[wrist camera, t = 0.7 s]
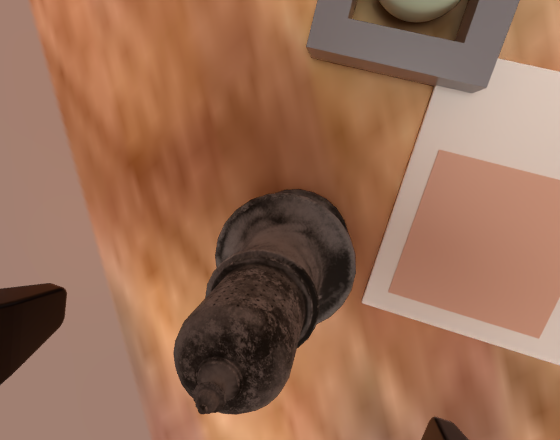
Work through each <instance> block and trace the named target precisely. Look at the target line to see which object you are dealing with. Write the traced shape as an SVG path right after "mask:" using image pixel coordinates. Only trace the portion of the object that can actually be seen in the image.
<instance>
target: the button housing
mask: <svg viewBox="0 0 560 440" xmlns="http://www.w3.org/2000/svg"><path fill="white" fill-rule="evenodd" d="M519 1H520V0H469V2H468V4H467V7H466V10H465V13H464V16H463V19H462V22H461V25H460V28H459V31H458V34H457V37H456V39H455V41H451V40H447V39H442V38H437V37H433V36H428V35H423V34H419V33H414V32H410V31H405V30H400V29H396V28H391V27H386V26H382V25H377V24H372V23H368V22H363V21H358V20H354V19H352V17H353V13H354V9H355V6H356V2H357V0H318V1H317V5H316V9H315V13H314V17H313V21H312V25H311V29H310V34H309V38H308V42H307V46H306V47H307V49H308V51H309V53H310V55H311V58H315V59H319V60H324V61H328V62H332V63H337V64H341V65H345V66H350V67H354V68H358V69H362V70H367V71H371V72H375V73H380V74H384V75H388V76H393V77H397V78H401V79H406V80H410V81H414V82H419V83H423V84H427V85H431V86H435V85H437V86H442V87H446V88H450V89H455V90H459V91H463V92H468V93H475V92H477V91H480V90H482V89H485V88H487V86H488V83H489V80H490V78H491V75H492V72H493V70H494V67H495V64H496V62H497V59H498V56H499V54H500V51H501V48H502V46H503V43H504V40H505V38H506V35H507V32H508V30H509V27H510V25H511V22H512V19H513V17H514V14H515V11H516V9H517V6H518V3H519Z"/></svg>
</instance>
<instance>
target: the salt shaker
mask: <svg viewBox="0 0 560 440" xmlns="http://www.w3.org/2000/svg"><path fill="white" fill-rule="evenodd" d="M215 258H216V267H217V268H216V269H215V271H214V272H213V274H212V276H211V278H210V280H209V282H208V284H207V290H206V297H205V299H204V300H203V301H202V303H201V304H200V305H199V306H198V307H197V308H196V309H195V310H194V311H193V312H192V313H191V314H190V316H189V317H188V318H187V319H186V320H185V321H184V323H183V325H182V327H181V329H180V331H179V334H178V336H177V338H176V340H175V347H174V361H175V367H176V371H177V374H178V376H179V379H180V381H181V384H182V385H183V387H184V388H185V389H186V391H187V392H188V394H189V395H190V396H191V397H192V398H194V401H195V403H196V407H197V409H198V412H199V413H200V414H210V413H216V412H220V413H223V414H241V413H247V412H252V411H256V410H258V409H260V408H262V407H264V406H266V405H268V404H269V403H270V402H271V401H273V400H274V399H275V398H276V397H277V396H278V395H279V393H280V392H281V390H282V389H283V387H284V385H285V384H286V382H287V380H288V379H289V376H290V372H291V368H292V364H293V361H294V357H295V353H296V349H297V348H298V347H299V346H300V345H302V344H303V343H304V342H305V341H306V340H307V339H308V338H309V336H310V335H311V333H312V331H313V330H314V328H315V326H316V324H318V323H320V322H322V321H324V320H326V319H327V318H329V317H330V316H332V315H333V314H334V313H335V312H336V311H337V310H338V309H339V308H340V307H341V306H342V305H343V303H344V302H345V300H346V298H347V297H348V295H349V293H350V292H351V289H352V286H353V282H354V278H355V274H356V264H355V251H354V248H353V245H352V242H351V239H350V236H349V234H348V231H347V228H346V224H345V221H344V219H343V218H342V216H341V214H340V213H339V211H338V210H337V208H336V207H335V206H333V205H332V204H331V203H330V202H329V201H328V200H327V199H325V198H323V197H322V196H320V195H318V194H316V193H314V192H310V191H305V190H301V189H294V190H284V191H281V192H278V193H275V194H267V195H264V196H261V197H258V198H255V199H252V200H250V201H249V202H247V203H246V204H244V205H243V206H241V207H240V208H238V209H237V210H236V211H235V212H234V213H233V214H232V215H231V217H230V218H229V219H228V220H227V221H226V223H225V224H224V226H223V228H222V231H221V233H220V235H219V237H218V241H217V247H216V254H215Z"/></svg>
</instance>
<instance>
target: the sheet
mask: <svg viewBox="0 0 560 440" xmlns="http://www.w3.org/2000/svg"><path fill="white" fill-rule="evenodd" d="M362 303H363V304H366V305H369V306H372V307H376V308H379V309H382V310H385V311H388V312H391V313H395V314H398V315H401V316H404V317H407V318H411V319H414V320H417V321H420V322H423V323H426V324H430V325H433V326H436V327H439V328H442V329H445V330H449V331H452V332H455V333H458V334H461V335H464V336H468V337H471V338H474V339H477V340H480V341H484V342H487V343H490V344H493V345H496V346H499V347H503V348H506V349H509V350H512V351H515V352H518V353H522V354H525V355H528V356H531V357H534V358H537V359H541V360H544V361H547V362H550V363H553V364H557V365H560V72H558V71H554V70H549V69H544V68H540V67H535V66H531V65H526V64H521V63H517V62H512V61H508V60H503V59H497V62H496V64H495V67H494V70H493V72H492V75H491V78H490V80H489V83H488V86H487V88H485V89H482V90H480V91H477V92H475V93H468V92H463V91H459V90H455V89H450V88H446V87H442V86H437V85H435V86H434V89H433V92H432V95H431V98H430V101H429V104H428V107H427V109H426V112H425V115H424V118H423V121H422V124H421V127H420V130H419V133H418V136H417V139H416V142H415V145H414V148H413V151H412V154H411V157H410V159H409V162H408V165H407V168H406V171H405V174H404V177H403V180H402V183H401V186H400V189H399V192H398V195H397V198H396V201H395V204H394V207H393V210H392V212H391V215H390V218H389V221H388V224H387V227H386V230H385V233H384V236H383V239H382V242H381V245H380V248H379V251H378V254H377V257H376V260H375V262H374V265H373V268H372V271H371V274H370V277H369V280H368V283H367V286H366V289H365V292H364V295H363V298H362Z"/></svg>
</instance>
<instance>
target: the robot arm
mask: <svg viewBox="0 0 560 440" xmlns="http://www.w3.org/2000/svg"><path fill="white" fill-rule="evenodd" d="M66 298H67V292H66V290H65V289H64V288H63V287H60V286H57V285H54V284H51V283H46V284H38V285H29V286H20V287H11V288H3V289H0V385H1V384H2V383H3V382H4V381H5V380H6V379H7V378H9V377H10V376H11V375H12V374H13V373H14V372H15V371H16V370H17V369H18V368H19V367H20V366H21V365H22V364H23V363H24V362H25V361H26V360H27V359H28V358H29V357H30V356H31V355H32V354H33V353H34V352H35V351H36V350H37V349H38V348H39V347H40V346H41V345H42V344H43V343H44V342H45V341H46V340H47V339H48V338H49V337H50V336H51V335H52V334H53V333H54V332H55V331H56V330H57V329H58V328H59V327H60V326H61V324H62V323H63V320H64V317H65V307H66ZM421 440H468V439H467V437H466V436H465V435H464V434H463V433H462V432H461V431H460V430H459V429H458V427H457V426H456V425H455V424H454V423H452V422H450V421H447V420H444V419H442V418H439V417H432V418H431V419H430V421H429V423H428V425H427V428H426V430H425V432H424V435H423V437H422V439H421Z"/></svg>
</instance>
